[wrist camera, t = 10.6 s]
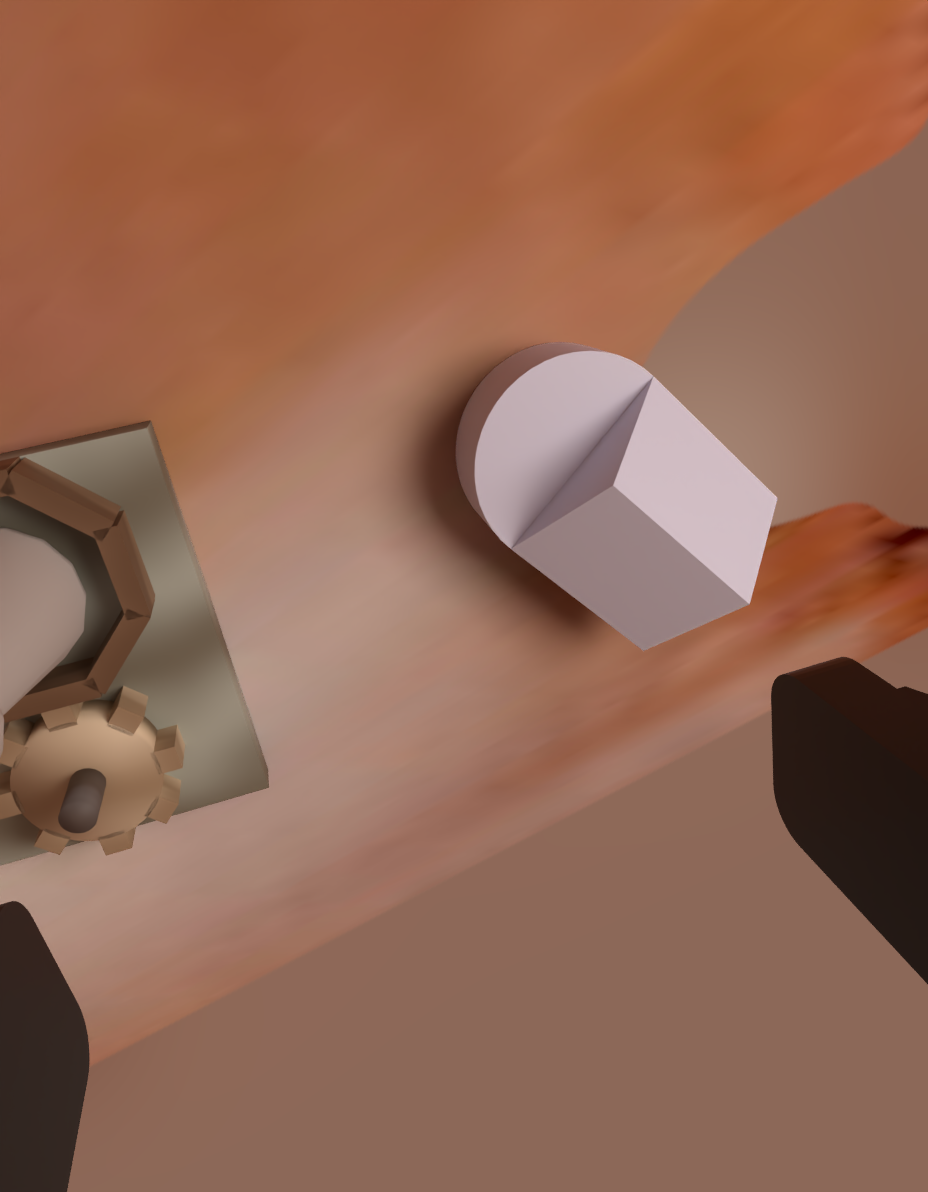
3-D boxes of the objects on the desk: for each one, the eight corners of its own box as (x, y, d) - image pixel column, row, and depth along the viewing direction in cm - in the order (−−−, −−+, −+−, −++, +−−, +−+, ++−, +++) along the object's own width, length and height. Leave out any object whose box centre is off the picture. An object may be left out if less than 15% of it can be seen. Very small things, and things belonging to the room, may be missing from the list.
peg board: (-204, 499, 31) (-292, 548, 26) (150, 420, 33) (134, 452, 28) (-16, 850, 38) (-55, 944, 33) (268, 769, 40) (271, 845, 35)
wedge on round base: (737, 479, 40) (548, 296, 35) (824, 520, 34) (611, 307, 29) (614, 621, 42) (414, 466, 36) (677, 685, 36) (448, 510, 30)
